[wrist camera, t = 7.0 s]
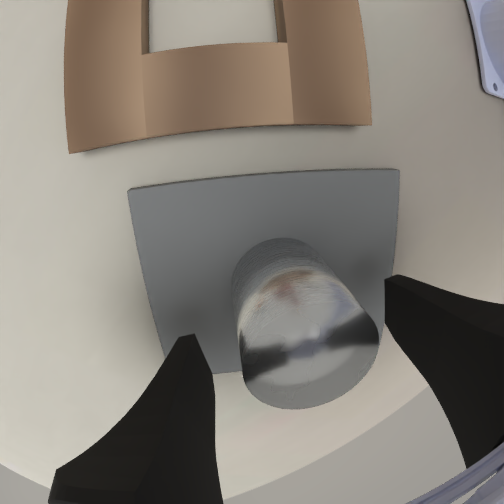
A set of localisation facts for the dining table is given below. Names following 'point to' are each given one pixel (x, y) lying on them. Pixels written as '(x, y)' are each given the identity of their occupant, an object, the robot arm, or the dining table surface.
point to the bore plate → (210, 74)
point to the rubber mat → (252, 233)
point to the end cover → (298, 326)
